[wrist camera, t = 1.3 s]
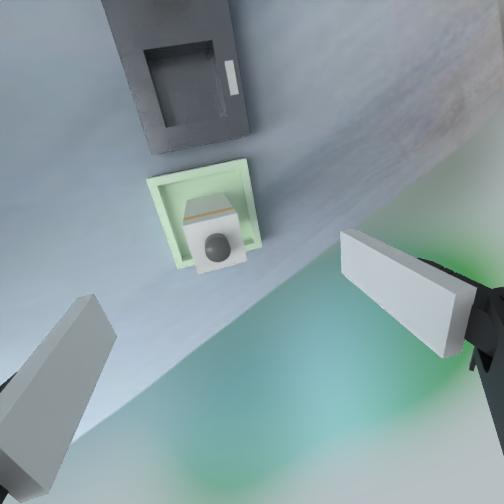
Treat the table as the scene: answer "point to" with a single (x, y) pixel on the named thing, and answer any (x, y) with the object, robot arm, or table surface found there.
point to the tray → (199, 185)
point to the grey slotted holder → (181, 70)
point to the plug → (213, 233)
